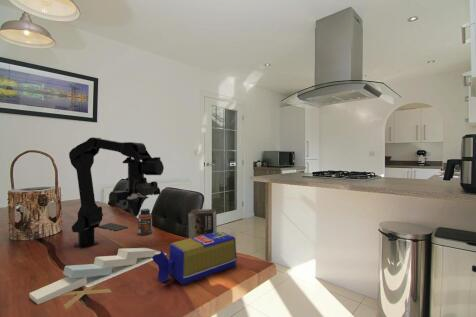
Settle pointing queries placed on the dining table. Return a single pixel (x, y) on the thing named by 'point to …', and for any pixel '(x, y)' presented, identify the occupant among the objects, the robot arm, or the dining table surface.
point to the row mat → (118, 271)
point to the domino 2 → (86, 271)
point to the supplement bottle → (145, 222)
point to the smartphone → (113, 227)
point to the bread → (197, 257)
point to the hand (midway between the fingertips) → (136, 215)
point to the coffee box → (202, 222)
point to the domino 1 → (57, 289)
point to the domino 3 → (113, 261)
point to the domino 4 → (136, 252)
